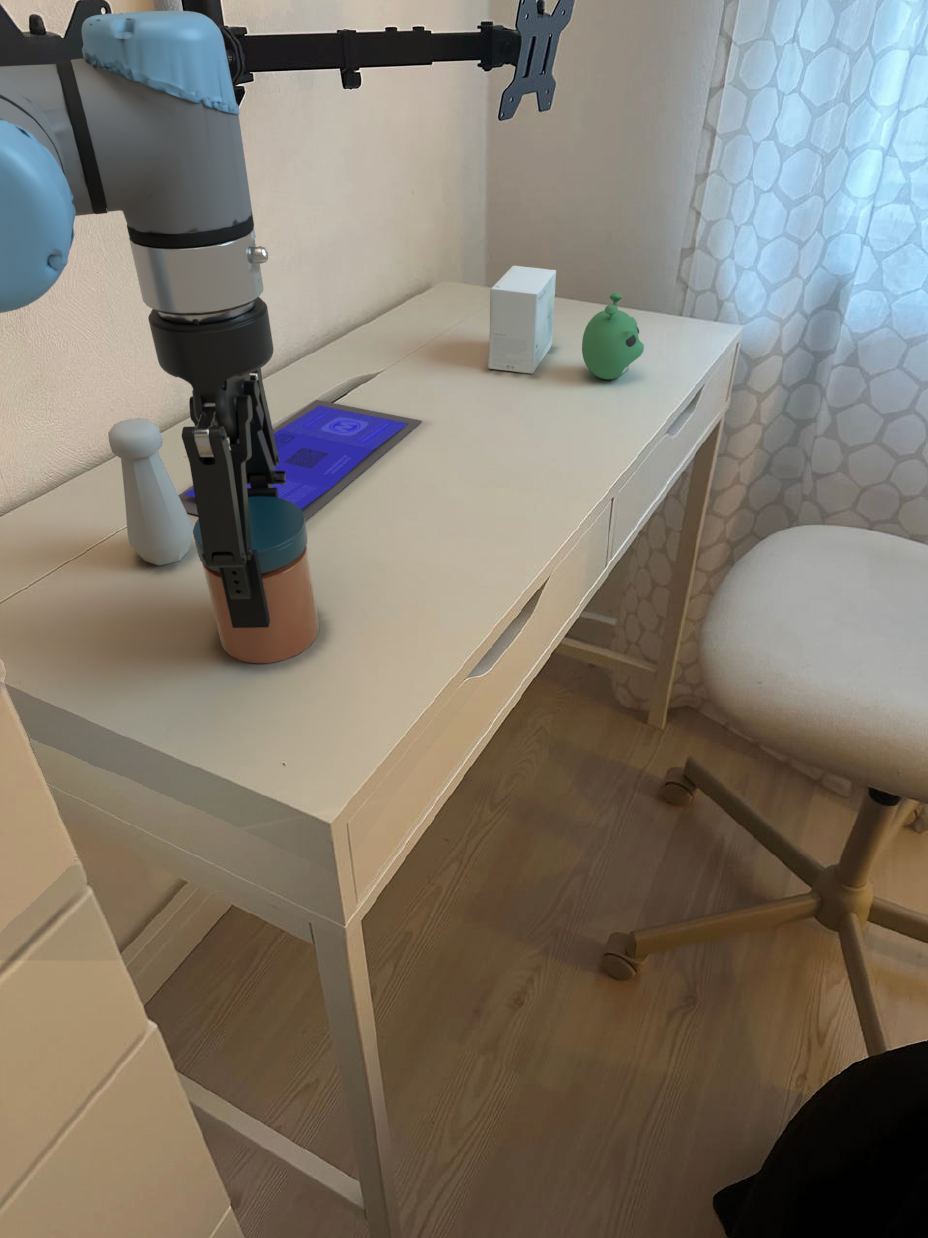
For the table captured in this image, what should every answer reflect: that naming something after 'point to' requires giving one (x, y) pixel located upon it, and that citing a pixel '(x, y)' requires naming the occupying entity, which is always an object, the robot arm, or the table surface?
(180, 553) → the salt shaker
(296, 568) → the jar
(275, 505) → the jar lid
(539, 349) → the cosmetics box
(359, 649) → the table surface
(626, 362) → the alien toy
